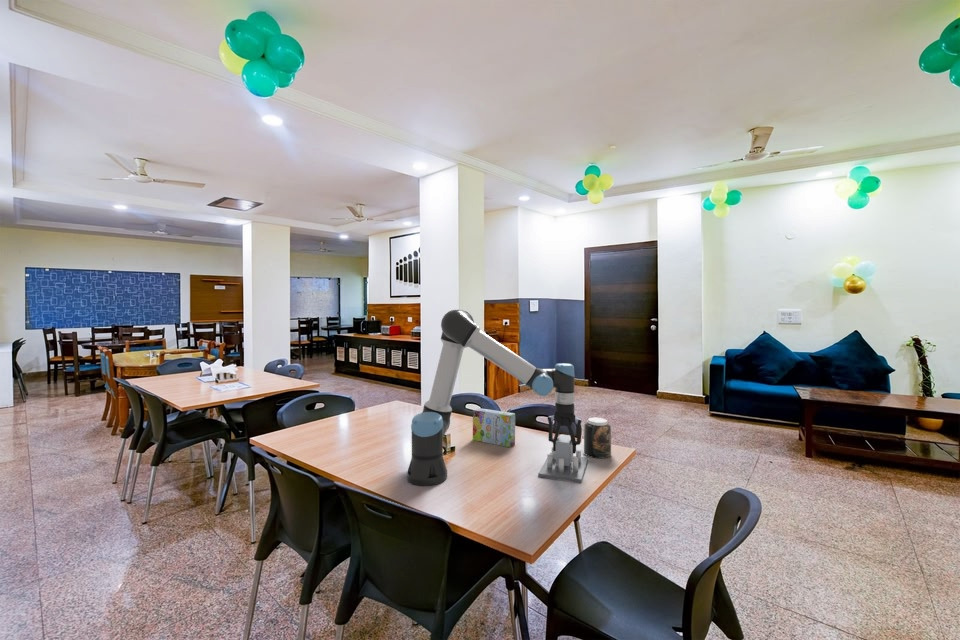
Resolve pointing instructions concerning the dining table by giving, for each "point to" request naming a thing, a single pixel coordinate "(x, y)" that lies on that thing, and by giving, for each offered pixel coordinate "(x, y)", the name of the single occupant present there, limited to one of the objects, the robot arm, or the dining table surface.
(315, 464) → the dining table surface
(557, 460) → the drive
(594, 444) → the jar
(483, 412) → the snack box
